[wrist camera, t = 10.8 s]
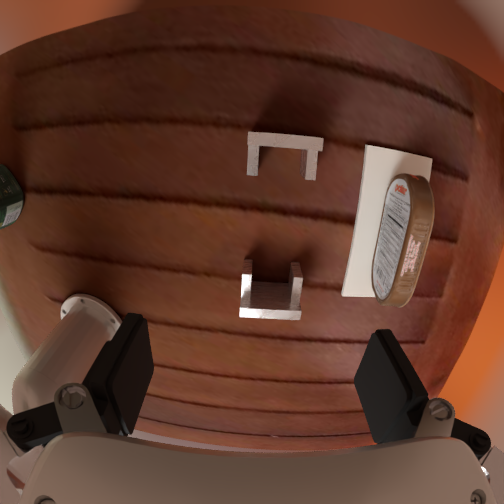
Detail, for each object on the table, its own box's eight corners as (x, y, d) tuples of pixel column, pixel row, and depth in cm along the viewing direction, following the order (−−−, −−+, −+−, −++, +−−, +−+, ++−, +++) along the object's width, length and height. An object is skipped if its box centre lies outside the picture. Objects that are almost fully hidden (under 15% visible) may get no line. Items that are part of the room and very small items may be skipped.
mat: (399, 295, 37) (401, 297, 36) (341, 293, 37) (342, 296, 36) (430, 158, 29) (432, 158, 28) (365, 144, 29) (367, 144, 29)
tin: (383, 284, 35) (408, 322, 28) (361, 284, 35) (383, 322, 28) (407, 170, 29) (446, 184, 22) (384, 165, 29) (420, 178, 22)
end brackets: (312, 137, 29) (323, 138, 24) (294, 291, 37) (299, 319, 31) (250, 132, 29) (248, 131, 24) (242, 288, 37) (239, 316, 31)
